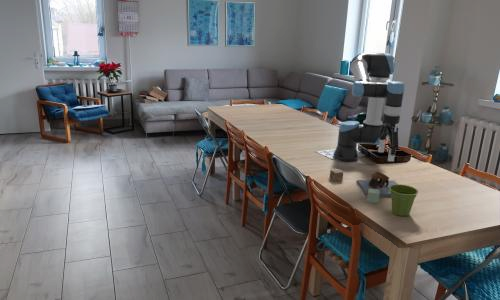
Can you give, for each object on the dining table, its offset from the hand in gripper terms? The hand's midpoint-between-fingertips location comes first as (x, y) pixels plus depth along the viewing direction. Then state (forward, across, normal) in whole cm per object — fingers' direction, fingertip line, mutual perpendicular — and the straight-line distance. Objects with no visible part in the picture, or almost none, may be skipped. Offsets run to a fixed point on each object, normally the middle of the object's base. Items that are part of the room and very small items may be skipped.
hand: (385, 156), depth 199 cm
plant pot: (+17, +28, -1) cm, 33 cm away
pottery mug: (+16, +1, -2) cm, 16 cm away
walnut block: (+18, -12, -20) cm, 29 cm away
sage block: (+17, +15, -9) cm, 24 cm away
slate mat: (+17, +1, 0) cm, 17 cm away
